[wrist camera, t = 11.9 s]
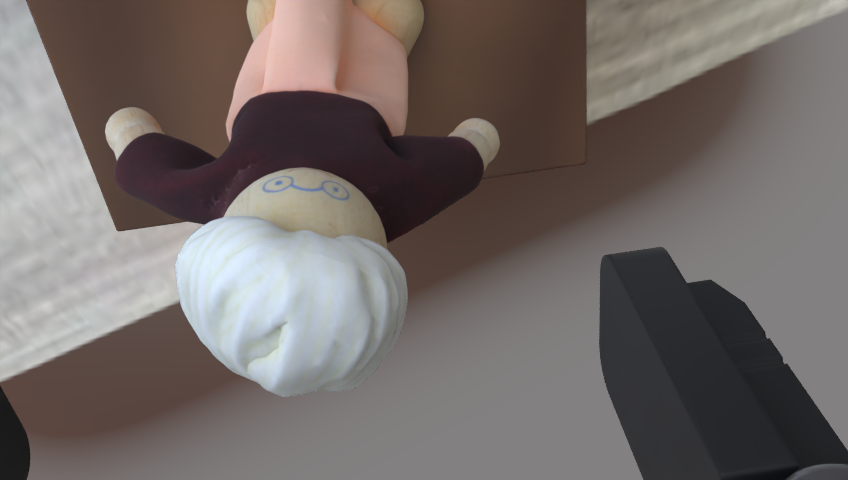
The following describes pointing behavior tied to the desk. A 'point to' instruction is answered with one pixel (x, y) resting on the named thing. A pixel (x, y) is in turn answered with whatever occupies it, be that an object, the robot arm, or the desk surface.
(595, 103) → the desk surface
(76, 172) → the desk surface
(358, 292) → the grandmother figurine
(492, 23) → the rack
